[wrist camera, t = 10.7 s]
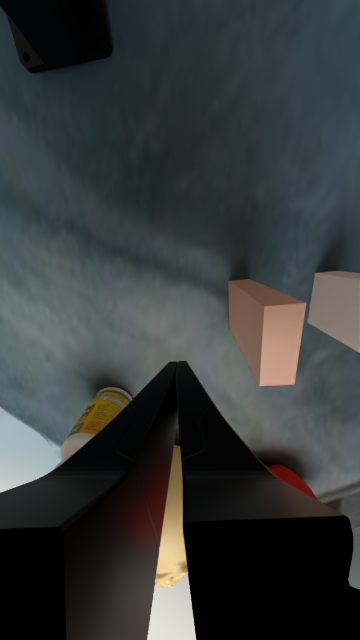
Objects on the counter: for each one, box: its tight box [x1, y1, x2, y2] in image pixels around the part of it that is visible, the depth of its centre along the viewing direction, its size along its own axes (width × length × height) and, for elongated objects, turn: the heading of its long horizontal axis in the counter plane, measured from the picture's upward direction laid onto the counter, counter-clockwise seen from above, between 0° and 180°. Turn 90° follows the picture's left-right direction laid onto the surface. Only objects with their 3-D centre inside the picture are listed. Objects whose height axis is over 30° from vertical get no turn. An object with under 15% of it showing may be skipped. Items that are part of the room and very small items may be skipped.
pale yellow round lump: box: [155, 445, 188, 587], centre depth 22 cm, size 12×12×11 cm
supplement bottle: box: [55, 387, 132, 469], centre depth 19 cm, size 5×5×10 cm
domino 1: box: [229, 279, 306, 386], centre depth 14 cm, size 5×2×9 cm, turn 6°
